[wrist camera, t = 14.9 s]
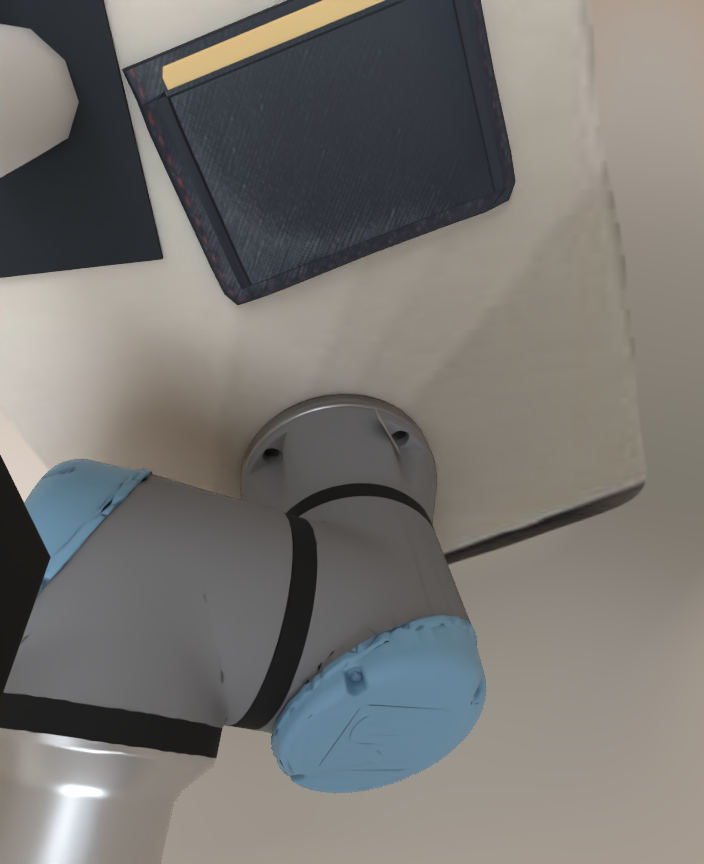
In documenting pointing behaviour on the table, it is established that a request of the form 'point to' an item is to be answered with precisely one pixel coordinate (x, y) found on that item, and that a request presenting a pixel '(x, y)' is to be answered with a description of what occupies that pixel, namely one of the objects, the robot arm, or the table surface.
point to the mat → (78, 159)
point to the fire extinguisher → (31, 97)
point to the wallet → (327, 133)
